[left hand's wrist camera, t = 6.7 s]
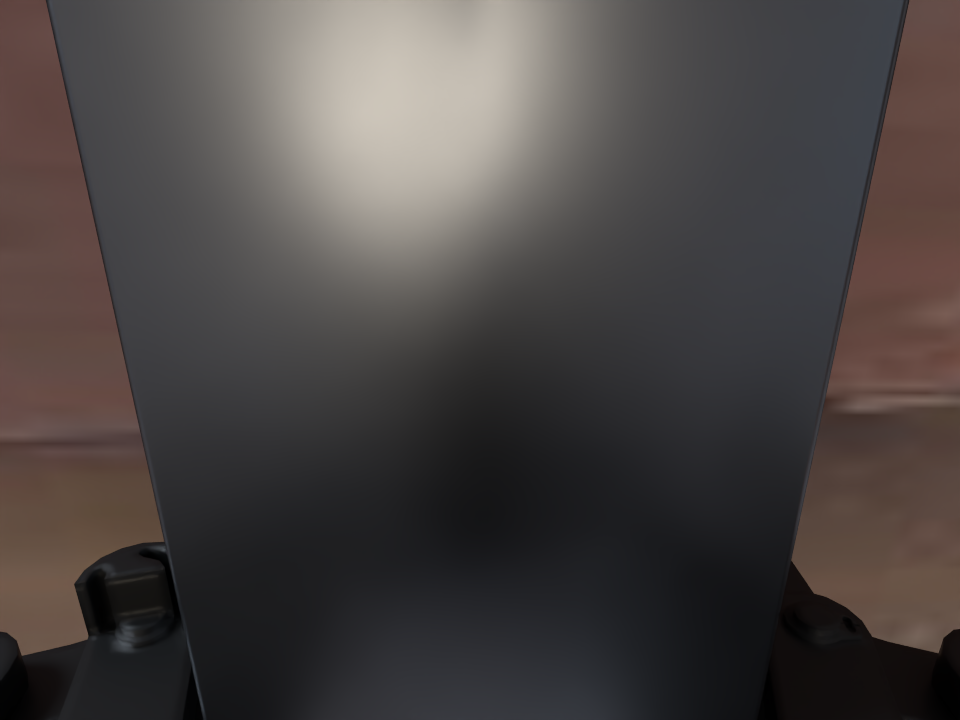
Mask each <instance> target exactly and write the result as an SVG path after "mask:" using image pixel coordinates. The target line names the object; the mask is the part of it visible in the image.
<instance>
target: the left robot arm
mask: <svg viewBox="0 0 960 720" xmlns="http://www.w3.org/2000/svg"><path fill="white" fill-rule="evenodd" d="M74 585H75V589H76V592H77V596H78V599H79V603H80V607H81V610H82V614H83V617H84V621H85V624H86V628H87V632H88V635H89V637H88V640H85V641H81V642H78V643H75V644H71V645H67V646H63V647H59V648H54V649H50V650H46V651H41V652H37V653H33V654H28V655H24V656H22V655H21V652H20V649H19V646H18V643H17V641H16V640H15V639H14V638H13V637H11V636H10V635H9V634H8V633H5V632H0V720H203V715H202V711H201V706H200V702H199V697H198V693H197V688H196V683H195V679H194V674H193V670H192V665H191V661H190V656H189V651H188V647H187V642H186V638H185V633H184V629H183V624H182V619H181V615H180V610H179V606H178V601H177V597H176V592H175V587H174V583H173V578H172V574H171V569H170V565H169V560H168V556H167V551H166V546H165V542H153V543H141V544H137V545H133V546H129V547H125V548H122V549H119V550H117V551H115V552H113V553H111V554H109V555H106V556H104V557H102V558H100V559H99V560H98V561H96V562H95V563H94V564H92V565H91V566H90V567H88V568H87V569H86V570H84V572H83V573H82V574H81V576H80V577H79V578H78V580H77V581H76V582H75V584H74ZM757 720H960V629H957V630H953V631H952V632H951V633H949V634H948V635H947V636H946V637H944V639H943V642H942V645H941V648H940V651H939V653H934V652H930V651H926V650H921V649H917V648H913V647H908V646H904V645H900V644H895V643H891V642H887V641H884V640H881V639H877V638H874V637H872V636H871V634H870V633H869V631H868V630H867V628H866V626H865V625H864V623H863V622H862V620H860V619H859V618H858V617H857V616H856V615H854V614H853V613H852V612H851V611H850V610H849V609H847V608H846V607H844V606H842V605H840V604H839V603H837V602H835V601H833V600H831V599H829V598H827V597H824V596H820V595H817V594H814V593H813V592H812V590H811V589H810V587H809V586H808V584H807V583H806V581H805V580H804V578H803V577H802V576H801V574H800V573H799V571H798V570H797V568H796V567H795V565H794V564H793V562H792V561H791V563H790V568H789V572H788V577H787V582H786V587H785V591H784V596H783V601H782V605H781V610H780V615H779V620H778V624H777V629H776V634H775V639H774V643H773V648H772V653H771V658H770V662H769V667H768V672H767V677H766V681H765V686H764V691H763V695H762V700H761V705H760V710H759V714H758V719H757Z"/></svg>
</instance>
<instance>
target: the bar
mask: <svg viewBox="0 0 960 720" xmlns="http://www.w3.org/2000/svg"><path fill="white" fill-rule="evenodd" d="M46 3H47V7H48V12H49V16H50V21H51V26H52V30H53V35H54V39H55V44H56V48H57V53H58V58H59V62H60V67H61V71H62V76H63V80H64V85H65V90H66V94H67V99H68V103H69V108H70V112H71V117H72V122H73V126H74V131H75V135H76V140H77V144H78V149H79V153H80V158H81V163H82V167H83V172H84V176H85V181H86V185H87V190H88V195H89V199H90V204H91V208H92V213H93V217H94V222H95V227H96V231H97V236H98V240H99V245H100V249H101V254H102V259H103V263H104V268H105V272H106V277H107V281H108V286H109V291H110V295H111V300H112V304H113V309H114V313H115V318H116V323H117V327H118V332H119V336H120V341H121V345H122V350H123V355H124V359H125V364H126V368H127V373H128V377H129V382H130V386H131V391H132V396H133V400H134V405H135V409H136V414H137V418H138V423H139V428H140V432H141V437H142V441H143V446H144V450H145V455H146V460H147V464H148V469H149V473H150V478H151V482H152V487H153V492H154V496H155V501H156V505H157V510H158V514H159V519H160V524H161V528H162V533H163V537H164V542H165V546H166V551H167V556H168V560H169V565H170V569H171V574H172V578H173V583H174V587H175V592H176V597H177V601H178V606H179V610H180V615H181V619H182V624H183V629H184V633H185V638H186V642H187V647H188V651H189V656H190V661H191V665H192V670H193V674H194V679H195V683H196V688H197V693H198V697H199V702H200V706H201V711H202V715H203V720H757V719H758V714H759V710H760V705H761V700H762V695H763V691H764V686H765V681H766V677H767V672H768V667H769V662H770V658H771V653H772V648H773V643H774V639H775V634H776V629H777V624H778V620H779V615H780V610H781V605H782V601H783V596H784V591H785V587H786V582H787V577H788V572H789V568H790V563H791V558H792V553H793V549H794V544H795V539H796V534H797V530H798V525H799V520H800V515H801V511H802V506H803V501H804V496H805V492H806V487H807V482H808V478H809V473H810V468H811V463H812V459H813V454H814V449H815V444H816V440H817V435H818V430H819V425H820V421H821V416H822V411H823V406H824V402H825V397H826V392H827V388H828V383H829V378H830V373H831V369H832V364H833V359H834V354H835V350H836V345H837V340H838V335H839V331H840V326H841V321H842V316H843V312H844V307H845V302H846V298H847V293H848V288H849V283H850V279H851V274H852V269H853V264H854V260H855V255H856V250H857V245H858V241H859V236H860V231H861V226H862V222H863V217H864V212H865V207H866V203H867V198H868V193H869V189H870V184H871V179H872V174H873V170H874V165H875V160H876V155H877V151H878V146H879V141H880V136H881V132H882V127H883V122H884V117H885V113H886V108H887V103H888V99H889V94H890V89H891V84H892V80H893V75H894V70H895V65H896V61H897V56H898V51H899V46H900V42H901V37H902V32H903V27H904V23H905V18H906V13H907V8H908V4H909V0H46Z"/></svg>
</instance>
